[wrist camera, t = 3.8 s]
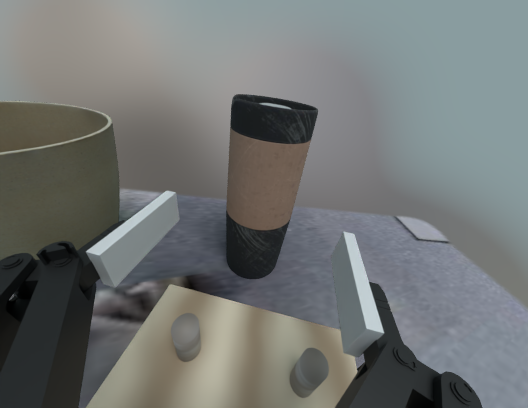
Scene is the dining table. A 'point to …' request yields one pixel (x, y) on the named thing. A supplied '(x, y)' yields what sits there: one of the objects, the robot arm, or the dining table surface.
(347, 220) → the dining table surface
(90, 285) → the robot arm
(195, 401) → the post base
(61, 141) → the plant pot
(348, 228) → the dining table surface
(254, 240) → the travel mug
